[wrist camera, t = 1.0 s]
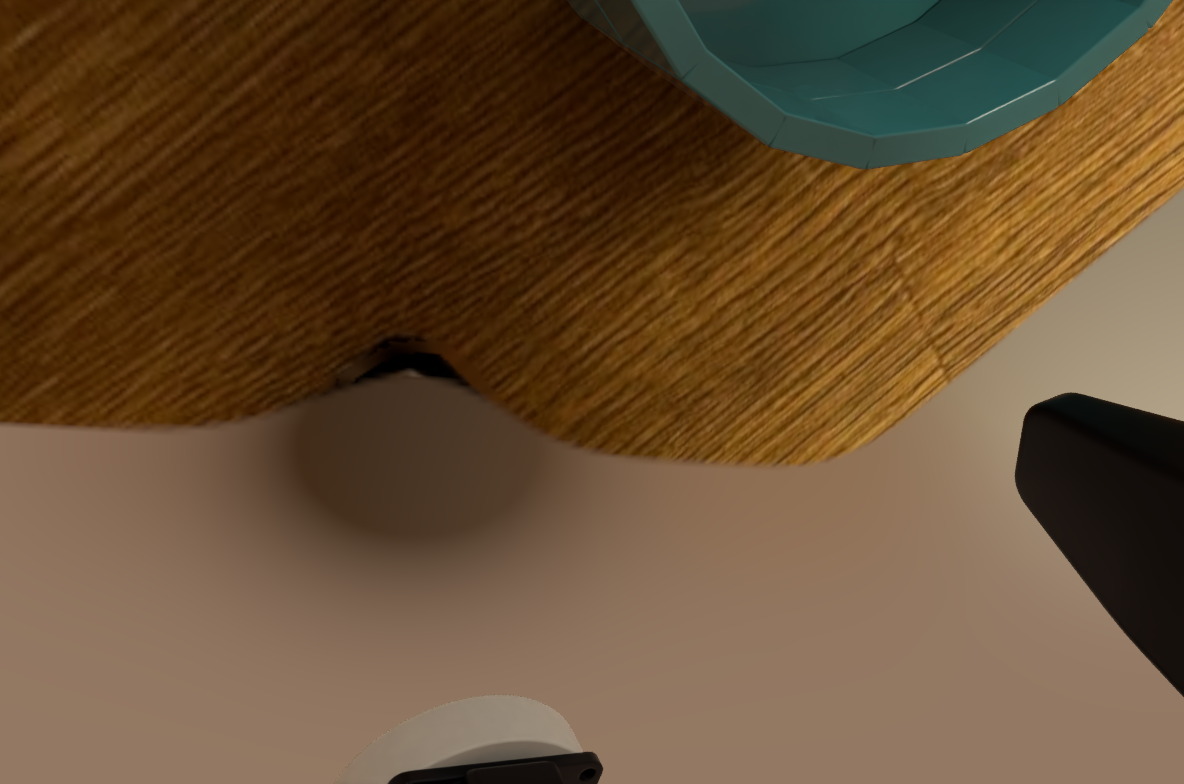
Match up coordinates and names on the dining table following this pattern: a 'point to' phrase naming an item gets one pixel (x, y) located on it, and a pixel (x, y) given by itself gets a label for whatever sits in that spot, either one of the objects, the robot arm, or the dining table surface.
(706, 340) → the dining table surface
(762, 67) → the pan
